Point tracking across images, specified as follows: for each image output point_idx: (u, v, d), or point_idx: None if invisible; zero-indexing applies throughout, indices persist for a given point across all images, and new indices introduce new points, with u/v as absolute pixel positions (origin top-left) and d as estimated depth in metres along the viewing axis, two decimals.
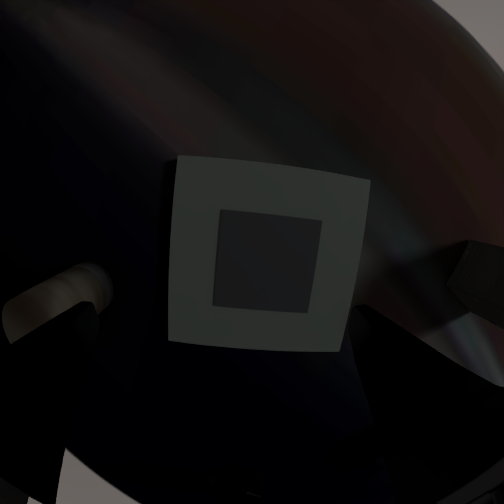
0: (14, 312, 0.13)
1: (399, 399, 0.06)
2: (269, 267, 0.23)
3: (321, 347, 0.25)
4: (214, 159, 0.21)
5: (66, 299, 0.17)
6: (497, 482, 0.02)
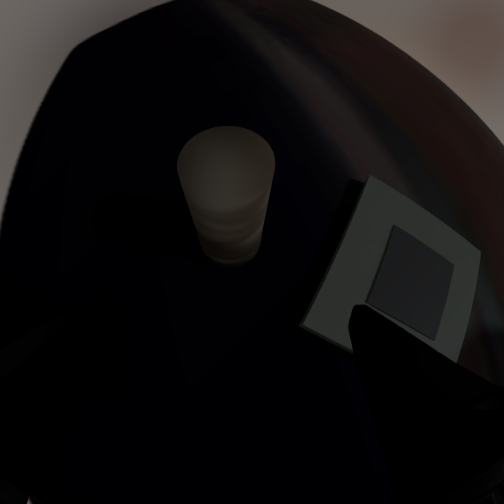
0: (229, 137, 0.14)
1: (399, 399, 0.06)
2: (418, 285, 0.22)
3: None
4: (394, 190, 0.25)
5: None
6: (497, 482, 0.02)
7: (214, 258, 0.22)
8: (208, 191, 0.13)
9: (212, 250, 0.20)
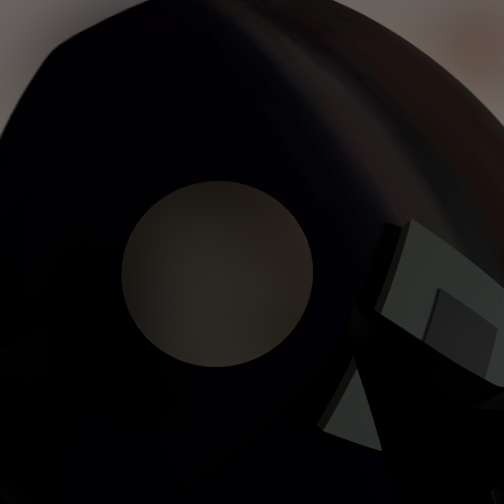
0: (221, 208, 0.08)
1: (399, 399, 0.06)
2: (460, 362, 0.15)
3: None
4: (439, 239, 0.18)
5: None
6: (497, 482, 0.02)
7: None
8: (181, 339, 0.06)
9: None
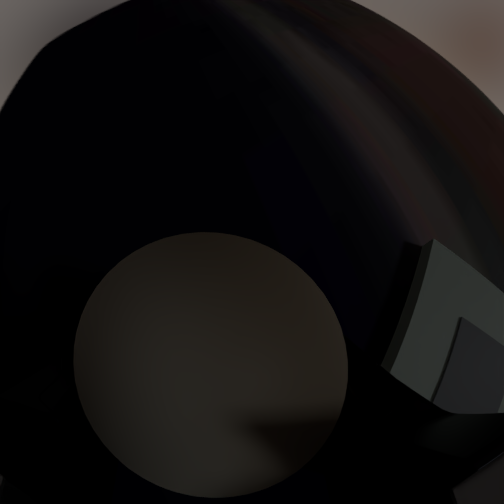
0: (211, 279, 0.05)
1: None
2: (477, 394, 0.12)
3: None
4: (461, 261, 0.16)
5: None
6: None
7: None
8: (162, 466, 0.04)
9: None
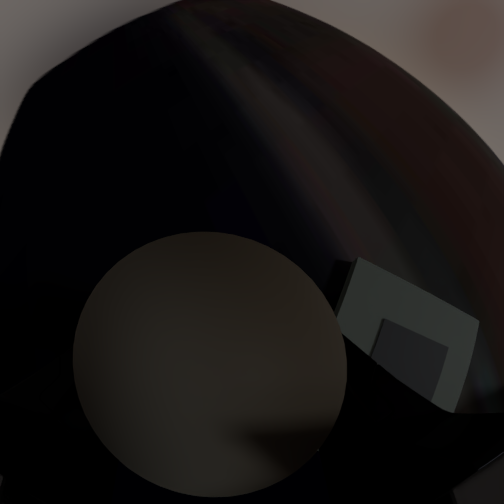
0: (210, 279, 0.05)
1: None
2: (405, 381, 0.19)
3: None
4: (386, 272, 0.22)
5: None
6: None
7: None
8: (161, 466, 0.04)
9: None
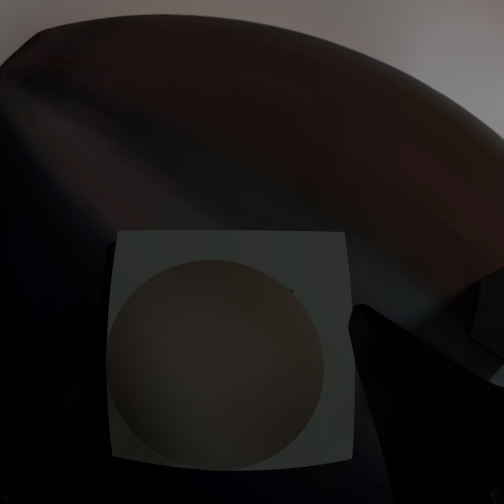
0: (217, 298, 0.06)
1: (399, 399, 0.06)
2: None
3: (325, 457, 0.14)
4: (156, 232, 0.19)
5: None
6: (497, 482, 0.02)
7: None
8: (178, 445, 0.05)
9: None
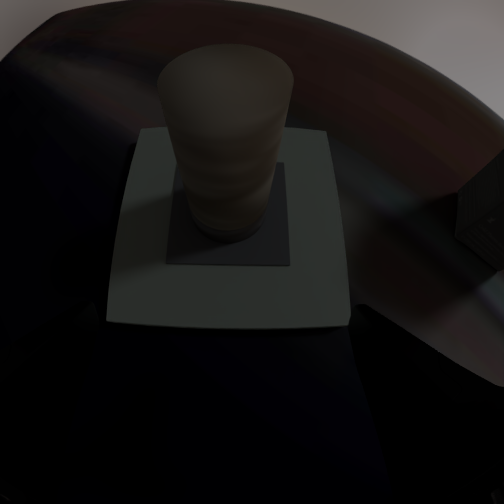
0: (231, 53, 0.09)
1: (399, 399, 0.06)
2: None
3: (323, 319, 0.17)
4: None
5: None
6: (497, 482, 0.02)
7: (207, 228, 0.17)
8: (198, 104, 0.08)
9: (204, 214, 0.15)
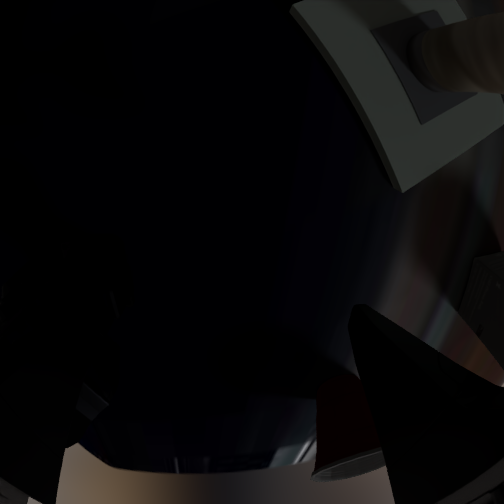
0: None
1: (399, 399, 0.06)
2: None
3: (398, 168, 0.18)
4: None
5: None
6: (497, 482, 0.02)
7: (419, 53, 0.13)
8: None
9: (433, 49, 0.11)
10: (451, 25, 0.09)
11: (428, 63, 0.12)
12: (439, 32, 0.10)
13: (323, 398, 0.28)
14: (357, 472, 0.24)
